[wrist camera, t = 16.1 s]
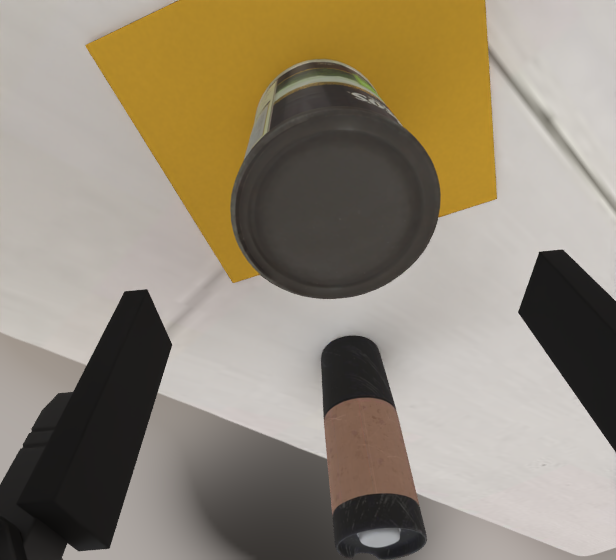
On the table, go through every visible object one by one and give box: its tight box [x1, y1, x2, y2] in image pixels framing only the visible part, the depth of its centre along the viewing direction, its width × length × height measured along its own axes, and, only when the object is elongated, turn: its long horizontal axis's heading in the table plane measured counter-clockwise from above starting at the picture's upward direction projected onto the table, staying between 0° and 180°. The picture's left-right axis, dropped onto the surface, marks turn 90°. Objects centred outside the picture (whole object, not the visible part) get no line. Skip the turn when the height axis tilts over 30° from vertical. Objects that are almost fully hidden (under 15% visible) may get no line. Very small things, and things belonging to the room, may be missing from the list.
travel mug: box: [321, 336, 427, 560], centre depth 39 cm, size 8×8×20 cm
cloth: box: [85, 0, 497, 283], centre depth 30 cm, size 26×22×1 cm
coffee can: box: [230, 59, 441, 299], centre depth 24 cm, size 10×10×14 cm
